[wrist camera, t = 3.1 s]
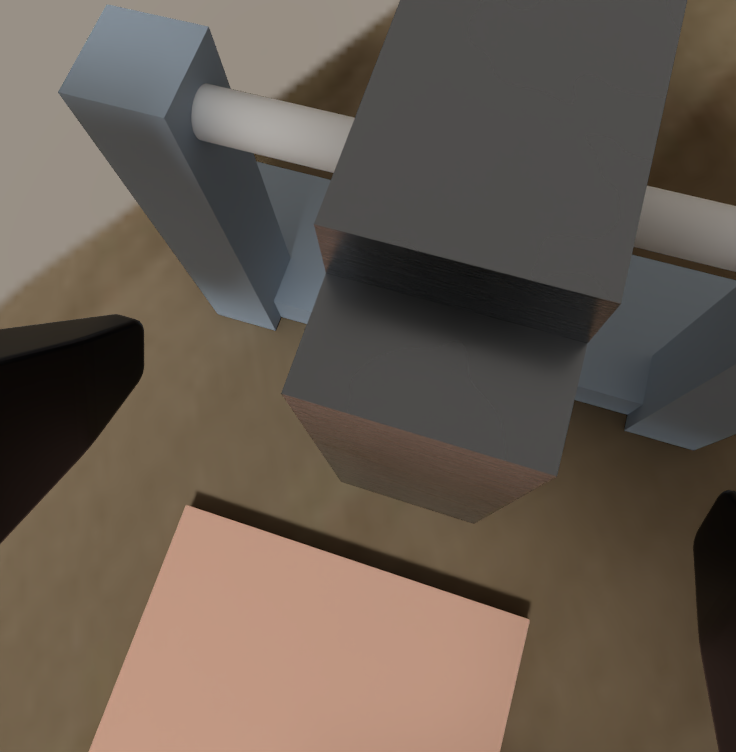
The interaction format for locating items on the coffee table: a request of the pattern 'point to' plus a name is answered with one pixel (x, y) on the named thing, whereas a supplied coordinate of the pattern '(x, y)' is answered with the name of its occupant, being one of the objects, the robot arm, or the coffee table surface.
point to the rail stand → (306, 193)
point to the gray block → (479, 242)
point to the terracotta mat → (306, 655)
